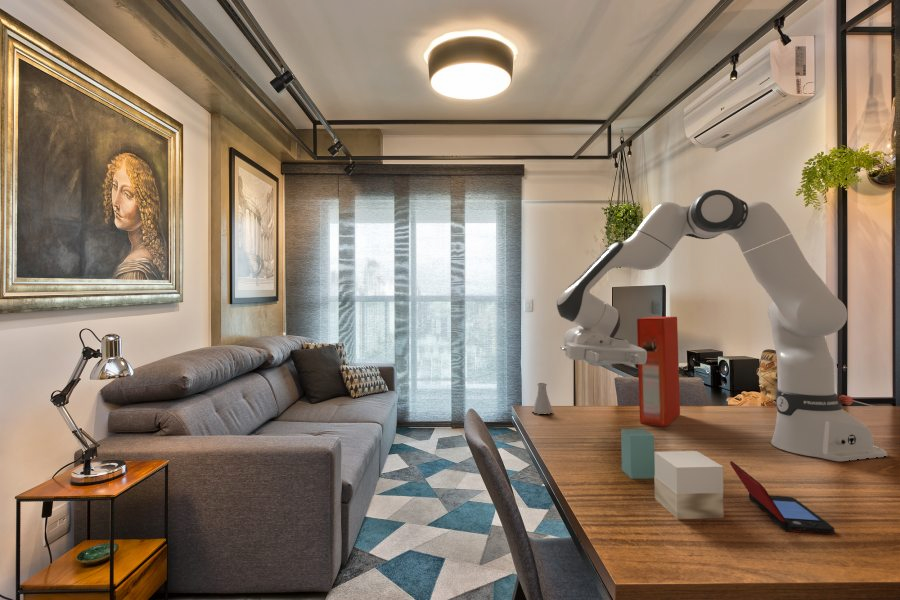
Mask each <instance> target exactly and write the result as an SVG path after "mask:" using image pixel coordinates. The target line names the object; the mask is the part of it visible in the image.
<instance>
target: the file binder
mask: <svg viewBox="0 0 900 600" xmlns="http://www.w3.org/2000/svg"><path fill="white" fill-rule="evenodd" d="M636 333H637V334H636V336H637V339H636V340H637V346H638V347H640V348H643V349H645V350H646V351H647V359H646V363H645V364H643V365H641V364H637V366H638V367H637V368H638V399H639V403H638V404H639V422H640V424H645V425H651V426H652V425H653V426H658V427H666V428H667V427H668V426H669V425H670V424H672V423H673V422H674V421H675V420H676V419H677V418H678V417H679V416H680V415H681V405H680V404H681V399H680V371H679V369H680V368H679V367H680V366H679V333H678V316H649V317H640V318H636Z"/></svg>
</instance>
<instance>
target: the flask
mask: <svg viewBox="0 0 900 600" xmlns="http://www.w3.org/2000/svg"><path fill="white" fill-rule="evenodd" d="M536 385H537V394H536V395H537V396H536V398H535V401H534V404H533V407H535V408H533V407H532V411H533V412H535V413H542V414H544V413H552V412H554V410H553V406H552V405H551V402H550V398H549V396H548V392H547V385H548V384H547V383H546V382H537V383H536ZM532 411H531V412H532ZM552 414H553V413H552Z"/></svg>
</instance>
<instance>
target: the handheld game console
mask: <svg viewBox="0 0 900 600" xmlns="http://www.w3.org/2000/svg"><path fill="white" fill-rule="evenodd" d="M729 461H730V460H729ZM729 464H730V466H731V468H732V469H733V471H734V472H735V474H736V475H737V477H738V478H739V480H740V482H741V483H742V484H743V486H744V487H745V489H746V490H747V492H748V499H749V500H750V501H751V502H752V503H753V504H755V505H756V506H757V507H758V508H759V509H760V510H761V511H763V512H765V513H767V514H768V515H769V517H770V519H771V520H772V521H773V522H774V523H775V524H777V525H778V526H779V527H780V529H782V530H783V531H785V532H788V533H789V532H791V533H792V532H795V533H796V532H797V533H805V534H806V533H807V534H819V535H833V534H835V528H834V526H833V525H832V524H830V523H828V522H827V520H825V519H824V518H822V517H821V516H819V515H818V514H817V513H815V512H814V511H812V510H811V509H810V508H809V507H807V506H806V505H805V504H803V503H802V502H801V501H799V500H797V499H796V498H794V497H791V496H786V495H783V496H782V495H771V494H769V493H768V491H767V490H766V488H765V487H764V486H763V484H761V483H760V481H757V479H756V478H754V477H753V476H751V475H750V474H749V473H748V472H746V471H745V470H744V469H742V468H741V467H740V466H738V465H737V463H735V462H734V461H730V462H729Z"/></svg>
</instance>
